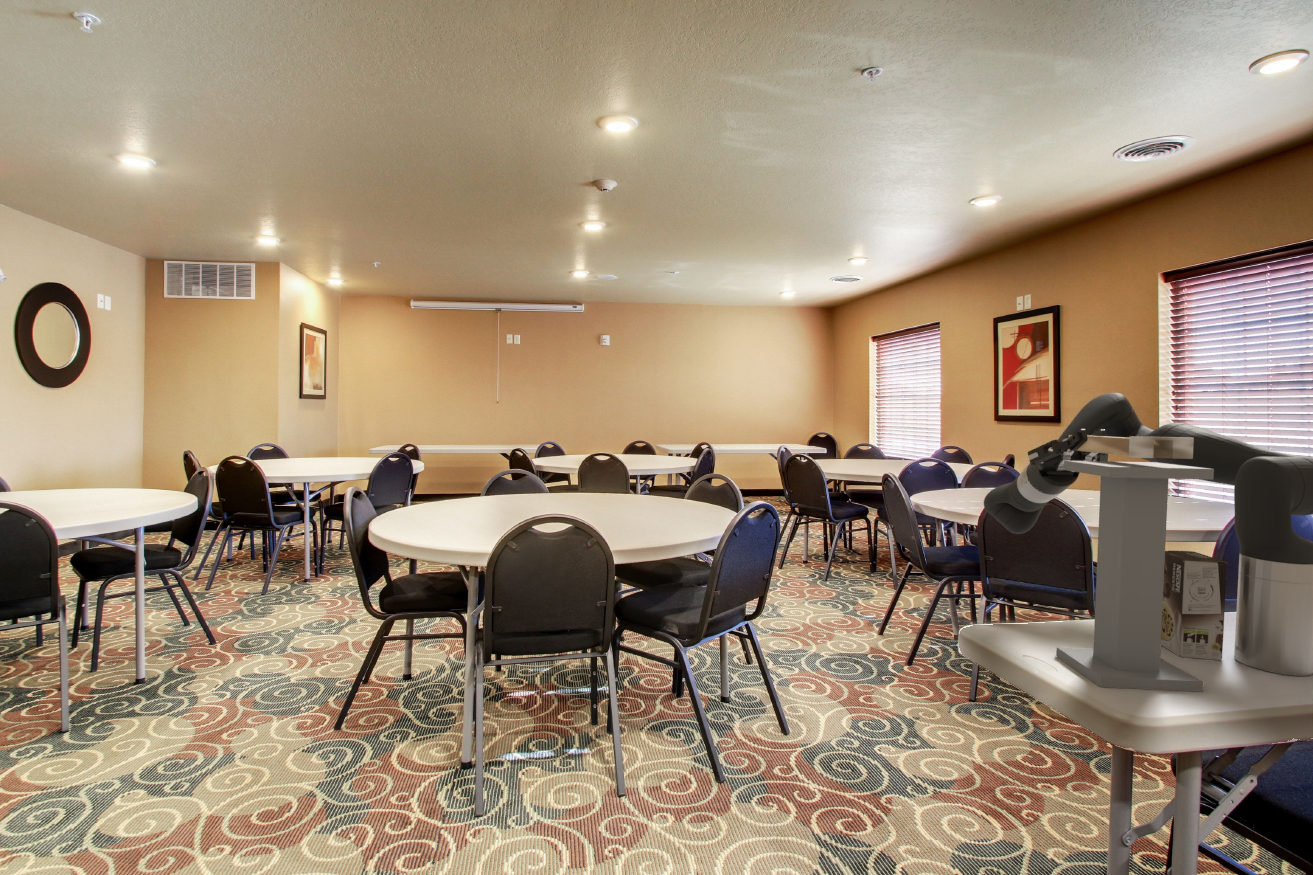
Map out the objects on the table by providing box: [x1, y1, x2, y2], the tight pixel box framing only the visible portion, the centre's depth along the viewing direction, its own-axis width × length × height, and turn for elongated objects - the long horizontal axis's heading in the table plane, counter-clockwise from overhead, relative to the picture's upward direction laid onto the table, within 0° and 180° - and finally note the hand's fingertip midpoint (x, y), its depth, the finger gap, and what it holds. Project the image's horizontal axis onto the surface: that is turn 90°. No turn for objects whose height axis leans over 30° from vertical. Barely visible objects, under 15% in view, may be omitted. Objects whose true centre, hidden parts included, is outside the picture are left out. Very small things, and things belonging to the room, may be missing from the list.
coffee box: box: [1161, 550, 1228, 661], centre depth 111 cm, size 9×6×16 cm
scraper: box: [1069, 435, 1194, 459], centre depth 104 cm, size 8×22×3 cm, turn 176°
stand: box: [1055, 460, 1214, 693], centre depth 100 cm, size 14×12×32 cm
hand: (1094, 434), depth 109 cm, fingers closed on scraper, 2 cm apart
